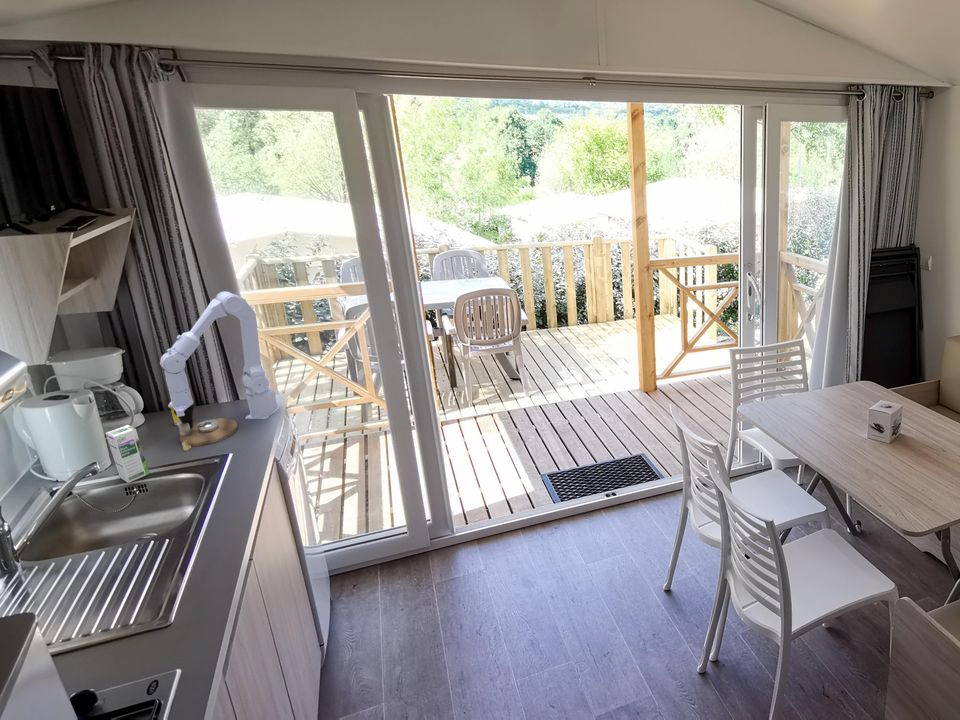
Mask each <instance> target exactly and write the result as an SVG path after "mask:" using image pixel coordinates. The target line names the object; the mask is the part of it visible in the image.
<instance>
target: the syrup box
mask: <svg viewBox="0 0 960 720" xmlns="http://www.w3.org/2000/svg"><path fill="white" fill-rule="evenodd" d="M138 435H139V434H138V432H137V428H135V427H133V426H131V425H129V424H126V425H124V426H121V427H119V428H115V429H113V430H110V431H106V432H105V436H106V439H107V442H108V446H109V447H110V448H109V449H110V452H111V454H112V457H113V460H114V463H115V466H116V469H117V473H118V475H119V478H120V479H122V480H123V481H124V482H126V483H127V484H129V483H132V482H134V481H136V480H139V479H142V478H143V477H145V476H148V475H150V472H149V468H148V467H149V466H148V464H147V461H146V458H145V455H144V451H143V448H142V445H141V442H140V439H139V436H138Z"/></svg>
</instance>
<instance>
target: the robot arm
mask: <svg viewBox="0 0 960 720" xmlns="http://www.w3.org/2000/svg"><path fill="white" fill-rule="evenodd" d="M227 313H228V314H230V315H233V316H234V317H236V318H237V319H238V320H239V325H240V333H241V342H242V344H241V345H242V351H243V353H242V354H243V361H244V366H243V368H242V369H243V370H242V371H243V373H242V375H241V383H242V385H243V386H244V387H246V390H245V395H246V401H247V405H248V409H249V414H248V415H246V417H245V420H246V419H247V420H250V419H251V420H252V419H253V420H266V419H268V418H269V417H271V416H272V415H273V414H275V413H276V412H277V411H279V410H280V408H281V407H280V406H278V403H277V399H276V394H275V393H276V392H275V391H274V389H273V388H272V387H270V385H269V384H270V382H269V380H268V377H267V376H266V372H265V369H264V367H263V365H262V359H261V350H260V340H259V339H260V338H259V331H258V330H259V329H258V321H257V314H256V312H255V310H254V309H253V308H252V307H251V306H250V304H249V303H248V302H247V300H246V299H245V298H243V297H242V296H240V295H238V294H235V293H232V292H230V291H228V290H225V291H220V292H219V293H217V294H216V296H215V297H214V298H213V299H212V300H211V301H210V302H209V304H208V306H207V307H206V308H205V310H204V311H203V312H202V314H201V315H200V317H199V318H198V319H197V320H196V322H195V324H194V325H193V326H192V328H191V329H190V330H189V331H186V332H183V333H182V334H181V335H180V334H178V335H177V336H176V339H177V340H176V341H175V342H174V343H173V344H172V346H171V347H170V348H168V349H167V350H166V351H167V352H165V353H163V355H162V356H161V357H160V361H159V365H160V366H161V368H162V369H163V371H164V376H165V381H166V386H167V390H168V393H169V397H170V402H171V401H172V403H170V402H169V403H168V405H167V406H168V408H169V409H171V407H173V408H174V414H175V415H176V416H177V417H178V418H179V419H180V420H181V422H182V423H189V426H190V429H192V428H193V424H194V419H193V417H194V416H193V415H194V414H193V413H194V409H195V405H193V404H194V399H193V397H192V393H191V390H190V385H189V381H188V377H187V373H186V372H185V371H186V370H185V368H186V361H187V360H188V359H189V358H190V356H191V355H192V354H193V353H194V352H195V351H196V349H197V348H198V347H199V345H200V344H201V342H200V338H201V337H202V336H203V334H204V333H206V331H207V330H208V329H209V327H210V326H211V325H212V324H213V323H214V321H216V319H220V318H223V317H227V316H228V314H227Z"/></svg>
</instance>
